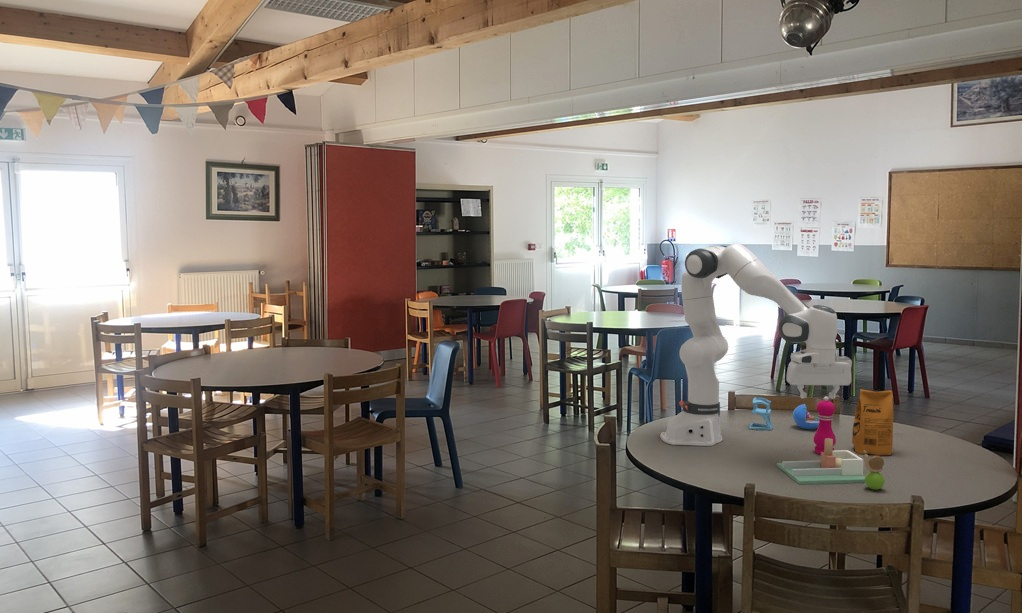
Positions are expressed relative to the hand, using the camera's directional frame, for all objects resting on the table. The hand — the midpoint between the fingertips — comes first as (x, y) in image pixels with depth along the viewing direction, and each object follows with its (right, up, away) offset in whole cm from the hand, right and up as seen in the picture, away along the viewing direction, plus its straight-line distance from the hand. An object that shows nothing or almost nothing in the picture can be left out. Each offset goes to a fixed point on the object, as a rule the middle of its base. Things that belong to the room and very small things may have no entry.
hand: (817, 398), depth 253 cm
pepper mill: (+10, -22, +19) cm, 31 cm away
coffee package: (+27, -21, +20) cm, 40 cm away
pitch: (0, -24, -3) cm, 24 cm away
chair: (-2, -18, +52) cm, 55 cm away
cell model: (+16, -18, +50) cm, 56 cm away
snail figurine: (+10, -26, -18) cm, 33 cm away
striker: (+2, -23, -3) cm, 23 cm away
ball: (+6, -21, -3) cm, 22 cm away
